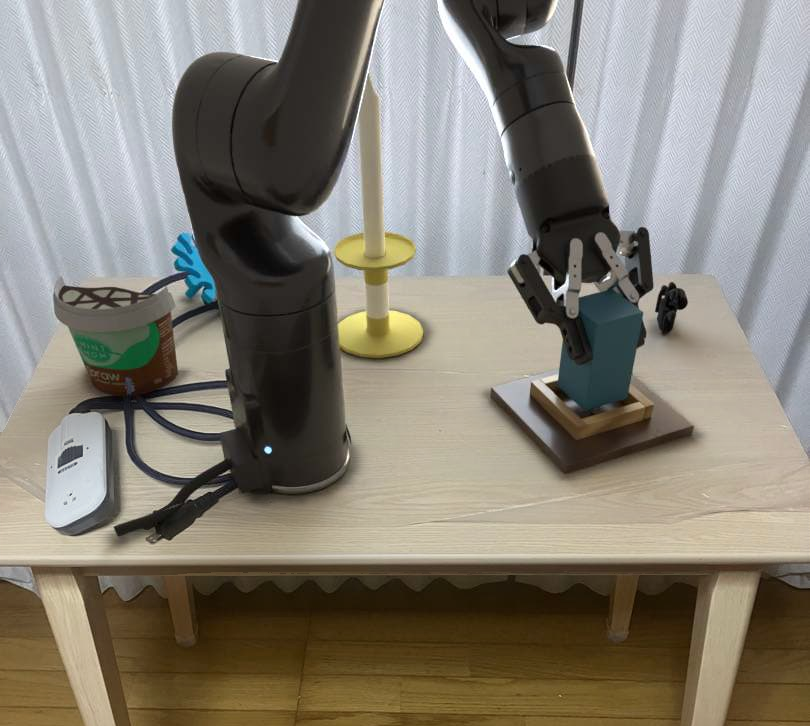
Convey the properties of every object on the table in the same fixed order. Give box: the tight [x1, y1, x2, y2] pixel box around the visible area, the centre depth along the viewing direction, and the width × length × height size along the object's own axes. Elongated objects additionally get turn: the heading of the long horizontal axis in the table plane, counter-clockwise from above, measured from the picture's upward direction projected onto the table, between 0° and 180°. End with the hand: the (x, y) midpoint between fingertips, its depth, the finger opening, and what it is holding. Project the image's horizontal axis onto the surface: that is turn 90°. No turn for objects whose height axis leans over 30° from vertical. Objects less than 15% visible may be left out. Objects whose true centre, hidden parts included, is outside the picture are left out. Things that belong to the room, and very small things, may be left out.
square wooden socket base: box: [490, 368, 695, 475], centre depth 83 cm, size 14×14×2 cm
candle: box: [333, 71, 424, 359], centre depth 86 cm, size 10×10×27 cm
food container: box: [52, 276, 179, 397], centre depth 85 cm, size 12×6×10 cm, turn 77°
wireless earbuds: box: [654, 281, 689, 336], centre depth 94 cm, size 7×2×5 cm, turn 176°
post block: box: [557, 289, 644, 411], centre depth 79 cm, size 5×5×9 cm
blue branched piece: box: [170, 232, 216, 304], centre depth 101 cm, size 11×6×10 cm
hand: (611, 354), depth 77 cm, fingers closed on post block, 4 cm apart
